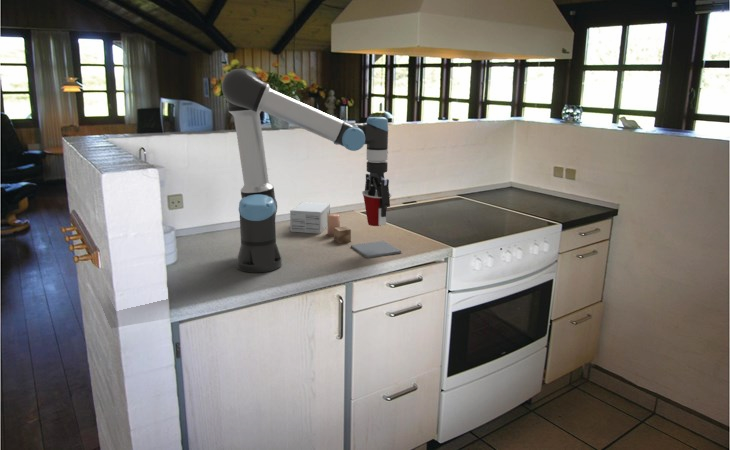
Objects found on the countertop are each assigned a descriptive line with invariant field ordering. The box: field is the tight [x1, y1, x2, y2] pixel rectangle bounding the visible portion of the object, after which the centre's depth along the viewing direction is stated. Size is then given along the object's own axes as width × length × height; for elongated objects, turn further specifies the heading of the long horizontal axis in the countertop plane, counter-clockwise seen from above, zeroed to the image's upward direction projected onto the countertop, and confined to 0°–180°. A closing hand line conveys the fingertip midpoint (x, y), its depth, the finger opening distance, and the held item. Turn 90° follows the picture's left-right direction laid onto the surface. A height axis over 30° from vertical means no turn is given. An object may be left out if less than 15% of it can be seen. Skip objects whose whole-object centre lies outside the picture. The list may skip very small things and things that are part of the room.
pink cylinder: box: [327, 213, 341, 237], centre depth 224 cm, size 5×5×8 cm
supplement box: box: [289, 201, 331, 235], centre depth 233 cm, size 17×13×9 cm
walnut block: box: [333, 226, 352, 244], centre depth 216 cm, size 5×5×5 cm
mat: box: [350, 240, 402, 259], centre depth 205 cm, size 14×14×1 cm
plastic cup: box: [361, 190, 392, 227], centre depth 201 cm, size 11×11×12 cm
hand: (376, 221), depth 202 cm, fingers closed on plastic cup, 9 cm apart
